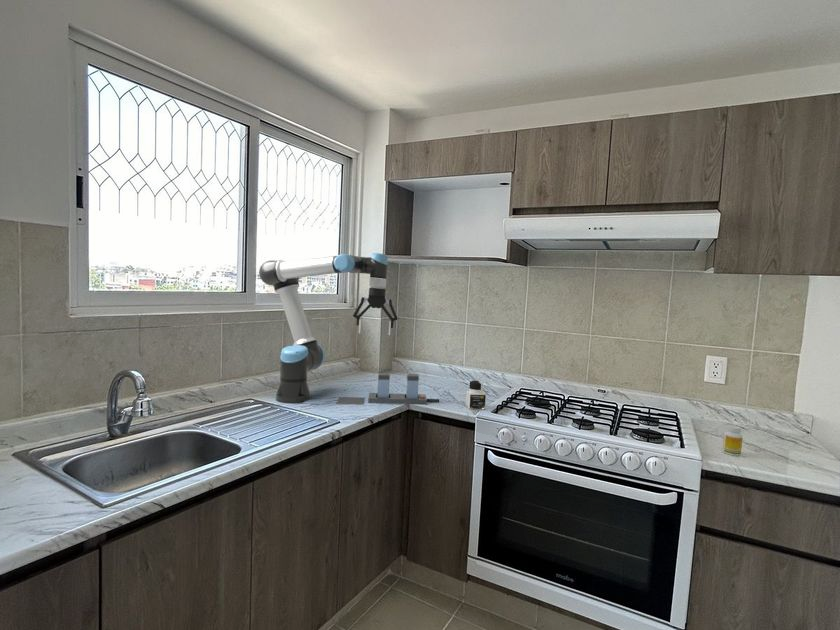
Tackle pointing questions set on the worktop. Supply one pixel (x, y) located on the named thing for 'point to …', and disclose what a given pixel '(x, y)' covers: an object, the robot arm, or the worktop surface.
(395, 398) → the strip
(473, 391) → the medicine bottle
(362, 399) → the mat
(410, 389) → the twin plug
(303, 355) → the robot arm
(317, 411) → the worktop surface
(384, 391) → the plug
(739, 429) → the supplement bottle
